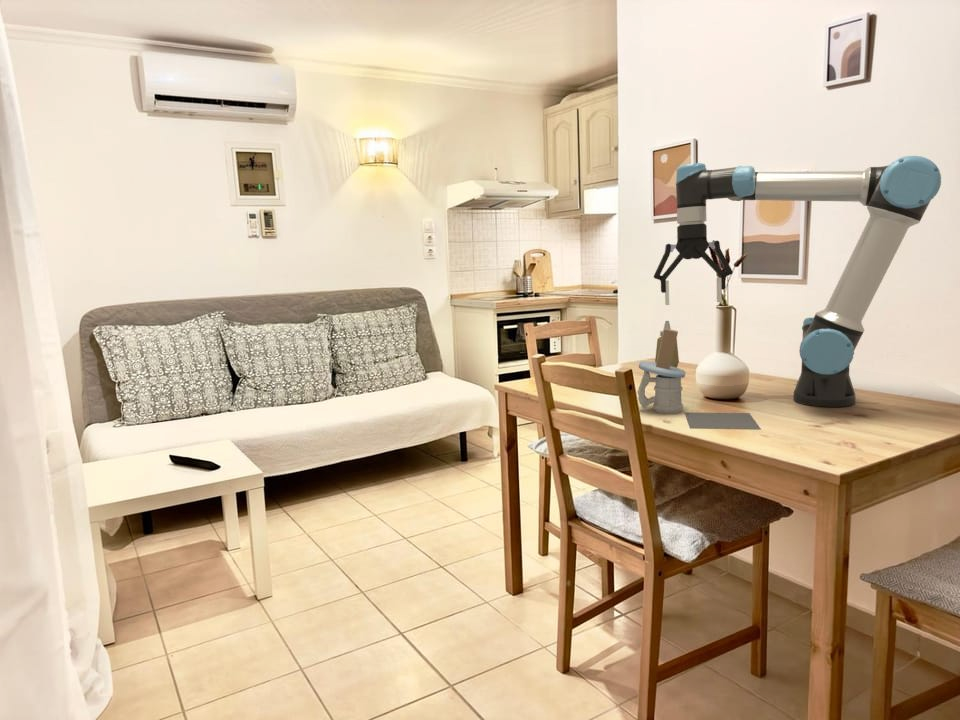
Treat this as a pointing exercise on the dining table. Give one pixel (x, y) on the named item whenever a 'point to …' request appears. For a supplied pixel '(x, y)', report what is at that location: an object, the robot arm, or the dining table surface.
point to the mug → (662, 393)
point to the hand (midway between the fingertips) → (693, 303)
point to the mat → (721, 421)
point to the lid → (664, 357)
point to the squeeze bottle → (675, 354)
